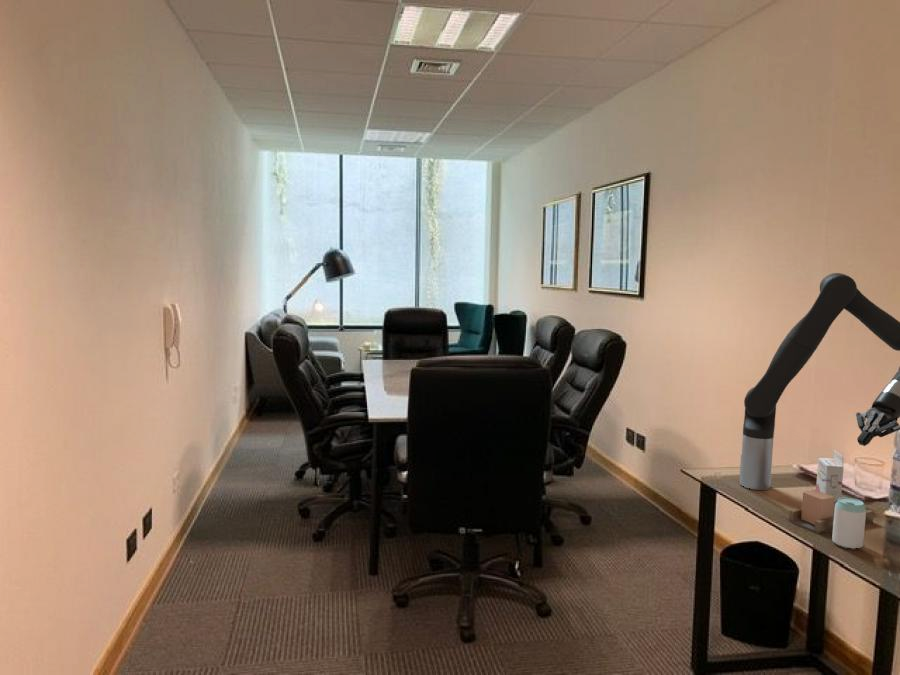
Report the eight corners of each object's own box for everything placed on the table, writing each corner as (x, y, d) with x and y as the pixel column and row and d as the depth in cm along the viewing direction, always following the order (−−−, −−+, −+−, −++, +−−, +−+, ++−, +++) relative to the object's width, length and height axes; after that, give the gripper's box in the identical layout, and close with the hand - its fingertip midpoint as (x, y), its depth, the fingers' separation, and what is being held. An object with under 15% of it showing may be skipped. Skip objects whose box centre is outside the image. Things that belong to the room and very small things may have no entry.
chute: (842, 510, 197) (843, 500, 197) (872, 522, 189) (873, 511, 188) (788, 521, 189) (789, 510, 189) (818, 533, 180) (819, 522, 180)
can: (869, 549, 171) (873, 505, 169) (845, 551, 170) (848, 506, 168) (849, 538, 178) (852, 495, 176) (825, 539, 177) (829, 496, 175)
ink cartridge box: (814, 492, 213) (818, 448, 211) (831, 493, 212) (835, 449, 210) (824, 501, 204) (827, 455, 203) (841, 503, 203) (845, 457, 202)
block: (813, 516, 190) (815, 489, 189) (832, 524, 185) (834, 497, 184) (801, 519, 188) (803, 492, 187) (819, 527, 183) (822, 499, 182)
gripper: (867, 386, 197) (834, 429, 194) (911, 395, 185) (877, 441, 182) (877, 402, 200) (845, 445, 197) (922, 412, 188) (888, 458, 185)
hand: (861, 443), depth 190 cm, fingers closed
